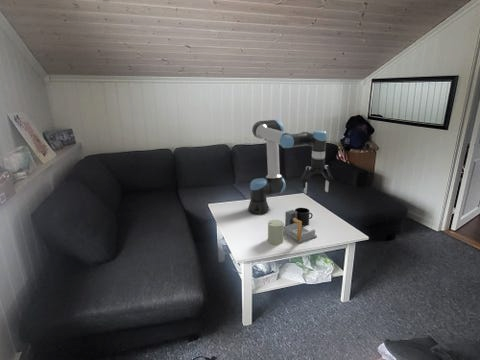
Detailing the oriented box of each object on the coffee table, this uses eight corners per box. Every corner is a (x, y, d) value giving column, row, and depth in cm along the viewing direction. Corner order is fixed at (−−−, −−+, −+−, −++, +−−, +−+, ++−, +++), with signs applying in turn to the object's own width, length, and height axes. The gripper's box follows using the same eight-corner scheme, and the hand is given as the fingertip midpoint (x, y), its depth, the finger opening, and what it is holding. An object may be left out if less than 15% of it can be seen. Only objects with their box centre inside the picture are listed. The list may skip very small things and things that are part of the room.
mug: (314, 225, 192) (315, 212, 190) (296, 226, 191) (297, 213, 188) (309, 219, 201) (310, 206, 199) (292, 220, 200) (293, 208, 197)
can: (266, 237, 178) (266, 219, 174) (281, 236, 178) (281, 218, 175) (269, 245, 169) (269, 226, 165) (284, 244, 170) (285, 225, 166)
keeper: (281, 232, 183) (282, 212, 179) (298, 227, 190) (299, 207, 186) (299, 243, 170) (299, 222, 166) (316, 237, 177) (318, 216, 173)
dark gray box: (285, 225, 192) (285, 211, 189) (292, 223, 195) (292, 209, 192) (289, 228, 188) (290, 214, 185) (296, 226, 191) (297, 212, 188)
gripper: (300, 160, 166) (298, 195, 173) (341, 158, 170) (338, 192, 176) (295, 157, 173) (294, 191, 180) (335, 155, 177) (332, 188, 184)
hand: (315, 192), depth 178 cm, fingers open, 13 cm apart
